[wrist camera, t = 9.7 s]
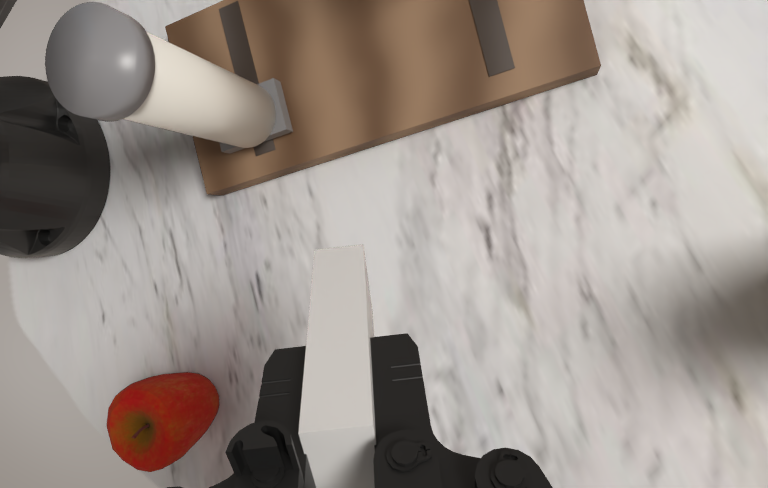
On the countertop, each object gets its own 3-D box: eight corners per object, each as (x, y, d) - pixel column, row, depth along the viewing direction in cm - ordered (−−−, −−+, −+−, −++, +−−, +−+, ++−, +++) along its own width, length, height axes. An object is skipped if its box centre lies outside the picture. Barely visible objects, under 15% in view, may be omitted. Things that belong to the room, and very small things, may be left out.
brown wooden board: (222, 195, 40) (206, 194, 38) (182, 35, 41) (164, 26, 39) (596, 74, 32) (601, 65, 30) (544, -123, 33) (544, -146, 31)
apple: (154, 397, 43) (78, 433, 36) (193, 343, 42) (123, 369, 35) (206, 451, 42) (138, 499, 35) (247, 397, 41) (186, 436, 33)
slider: (232, 163, 37) (58, 131, 24) (215, 96, 37) (32, 27, 24) (295, 141, 36) (149, 94, 22) (277, 72, 36) (121, -17, 22)
